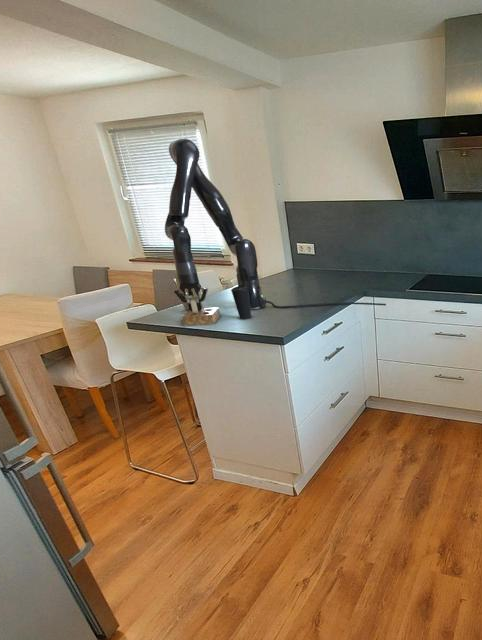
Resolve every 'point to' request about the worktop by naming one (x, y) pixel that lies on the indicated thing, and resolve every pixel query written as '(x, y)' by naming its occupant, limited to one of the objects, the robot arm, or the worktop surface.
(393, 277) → the worktop surface
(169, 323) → the worktop surface
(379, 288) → the worktop surface
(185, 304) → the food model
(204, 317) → the peg block
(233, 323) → the worktop surface
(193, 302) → the peg
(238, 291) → the drinking cup
